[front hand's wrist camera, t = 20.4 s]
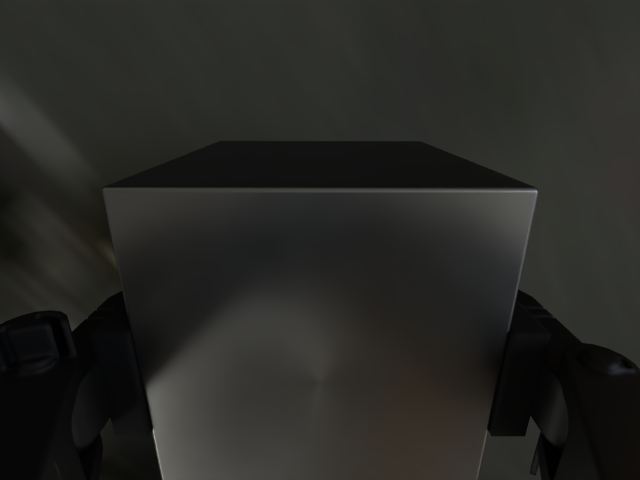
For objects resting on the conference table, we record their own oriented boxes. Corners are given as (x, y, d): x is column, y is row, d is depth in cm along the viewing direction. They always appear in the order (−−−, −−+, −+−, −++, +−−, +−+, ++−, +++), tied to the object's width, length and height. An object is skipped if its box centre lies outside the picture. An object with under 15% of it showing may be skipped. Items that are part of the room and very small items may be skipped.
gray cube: (218, 140, 14) (97, 187, 6) (422, 140, 14) (542, 187, 6) (235, 331, 17) (167, 517, 9) (404, 332, 17) (471, 517, 9)
